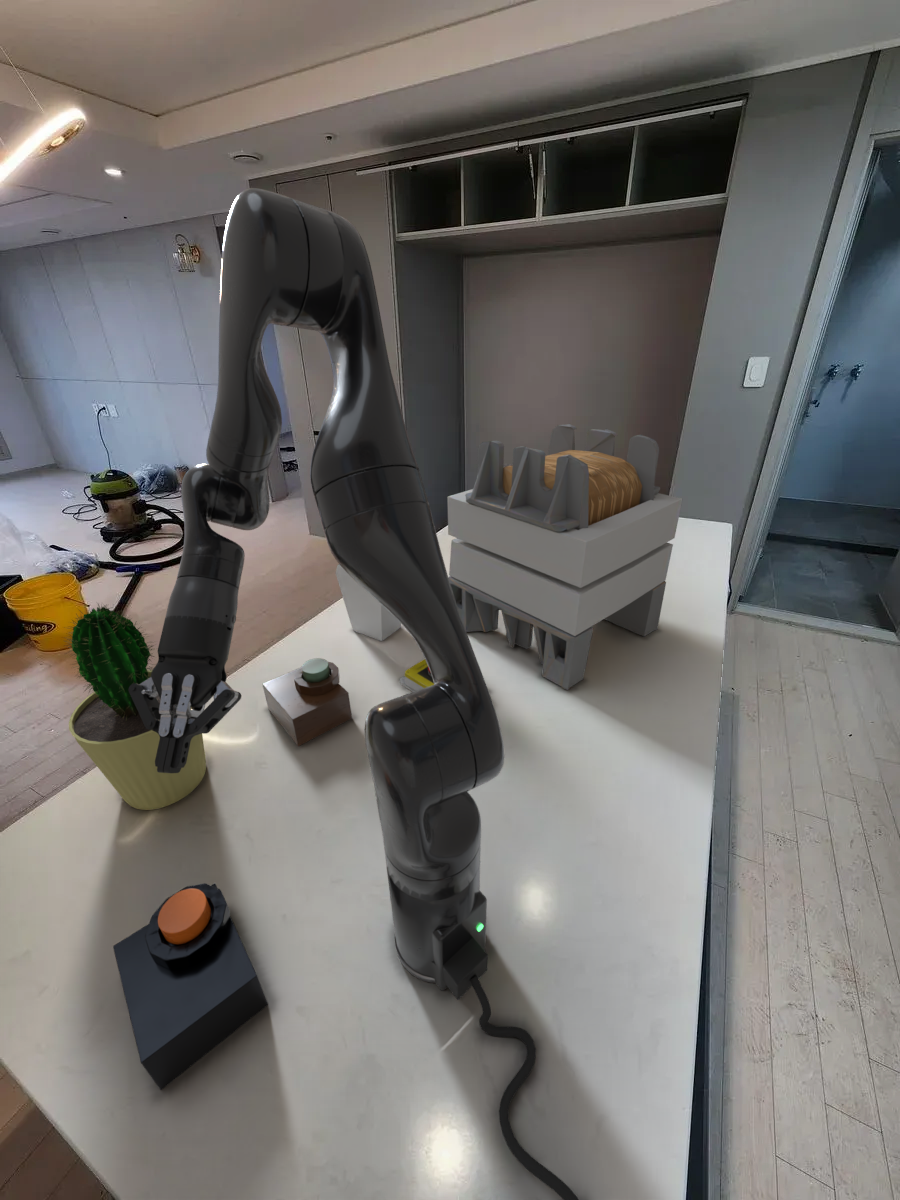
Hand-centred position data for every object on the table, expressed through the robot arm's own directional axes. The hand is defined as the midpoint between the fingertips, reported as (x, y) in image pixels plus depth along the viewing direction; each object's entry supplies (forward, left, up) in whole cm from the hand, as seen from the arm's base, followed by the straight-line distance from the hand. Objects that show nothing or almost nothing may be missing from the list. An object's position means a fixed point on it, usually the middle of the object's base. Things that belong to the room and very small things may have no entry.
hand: (168, 772), depth 56 cm
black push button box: (-14, +5, -17) cm, 22 cm away
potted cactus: (+18, 0, -17) cm, 25 cm away
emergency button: (+7, -45, -17) cm, 49 cm away
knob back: (+17, -25, -9) cm, 32 cm away
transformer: (+8, -77, -17) cm, 79 cm away
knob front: (-11, +4, -9) cm, 15 cm away
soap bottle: (+33, -48, -17) cm, 61 cm away
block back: (+17, -23, -17) cm, 33 cm away
